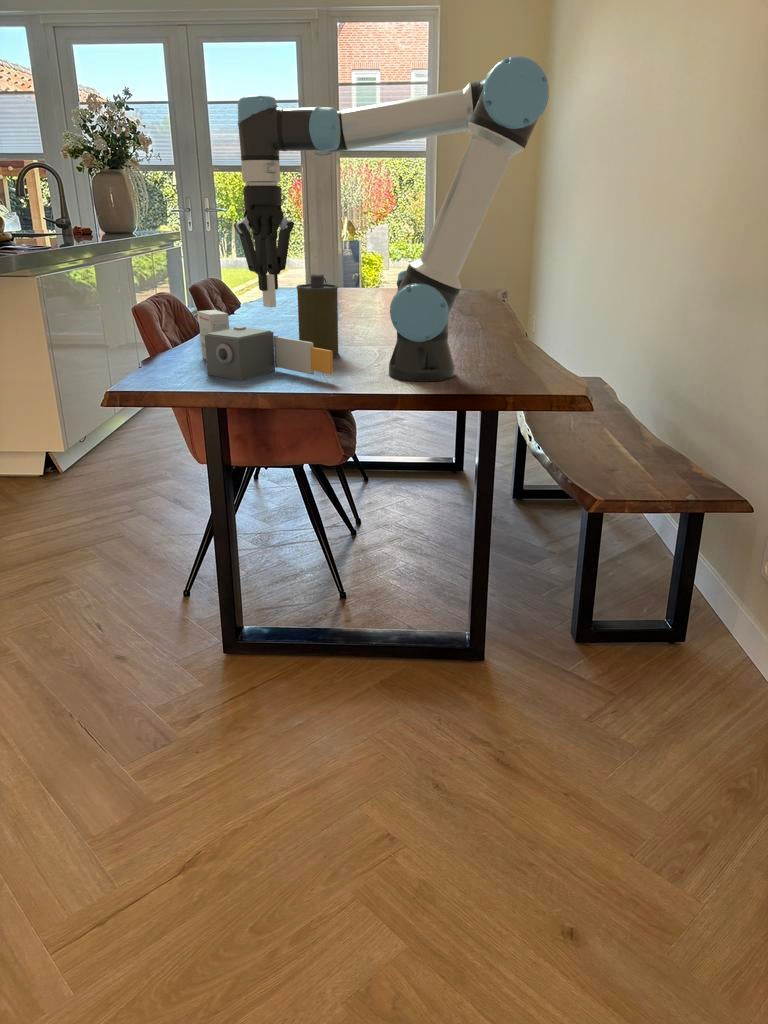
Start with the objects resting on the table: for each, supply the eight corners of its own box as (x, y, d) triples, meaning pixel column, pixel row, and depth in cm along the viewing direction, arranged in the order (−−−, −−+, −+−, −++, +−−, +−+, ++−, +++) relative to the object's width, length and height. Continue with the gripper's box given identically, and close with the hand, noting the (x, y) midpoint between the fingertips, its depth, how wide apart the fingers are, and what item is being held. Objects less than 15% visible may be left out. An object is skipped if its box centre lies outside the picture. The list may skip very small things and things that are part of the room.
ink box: (233, 362, 188) (230, 313, 184) (214, 364, 186) (210, 314, 181) (219, 356, 195) (216, 309, 190) (201, 358, 192) (196, 310, 188)
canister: (338, 360, 192) (337, 277, 184) (296, 359, 192) (293, 276, 184) (340, 351, 202) (339, 272, 194) (300, 351, 202) (298, 272, 194)
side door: (277, 366, 179) (276, 335, 177) (333, 378, 168) (332, 345, 165) (274, 367, 179) (272, 336, 176) (330, 379, 167) (329, 346, 165)
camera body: (275, 370, 179) (273, 328, 176) (238, 380, 169) (235, 336, 166) (242, 365, 184) (240, 324, 180) (204, 375, 174) (201, 331, 170)
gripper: (242, 184, 145) (251, 311, 154) (299, 184, 153) (305, 305, 162) (223, 184, 150) (233, 307, 159) (280, 185, 158) (286, 302, 167)
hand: (269, 306), depth 161 cm, fingers closed
